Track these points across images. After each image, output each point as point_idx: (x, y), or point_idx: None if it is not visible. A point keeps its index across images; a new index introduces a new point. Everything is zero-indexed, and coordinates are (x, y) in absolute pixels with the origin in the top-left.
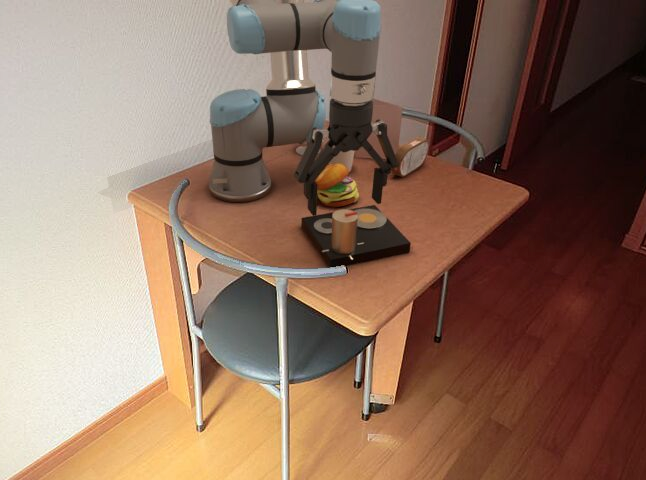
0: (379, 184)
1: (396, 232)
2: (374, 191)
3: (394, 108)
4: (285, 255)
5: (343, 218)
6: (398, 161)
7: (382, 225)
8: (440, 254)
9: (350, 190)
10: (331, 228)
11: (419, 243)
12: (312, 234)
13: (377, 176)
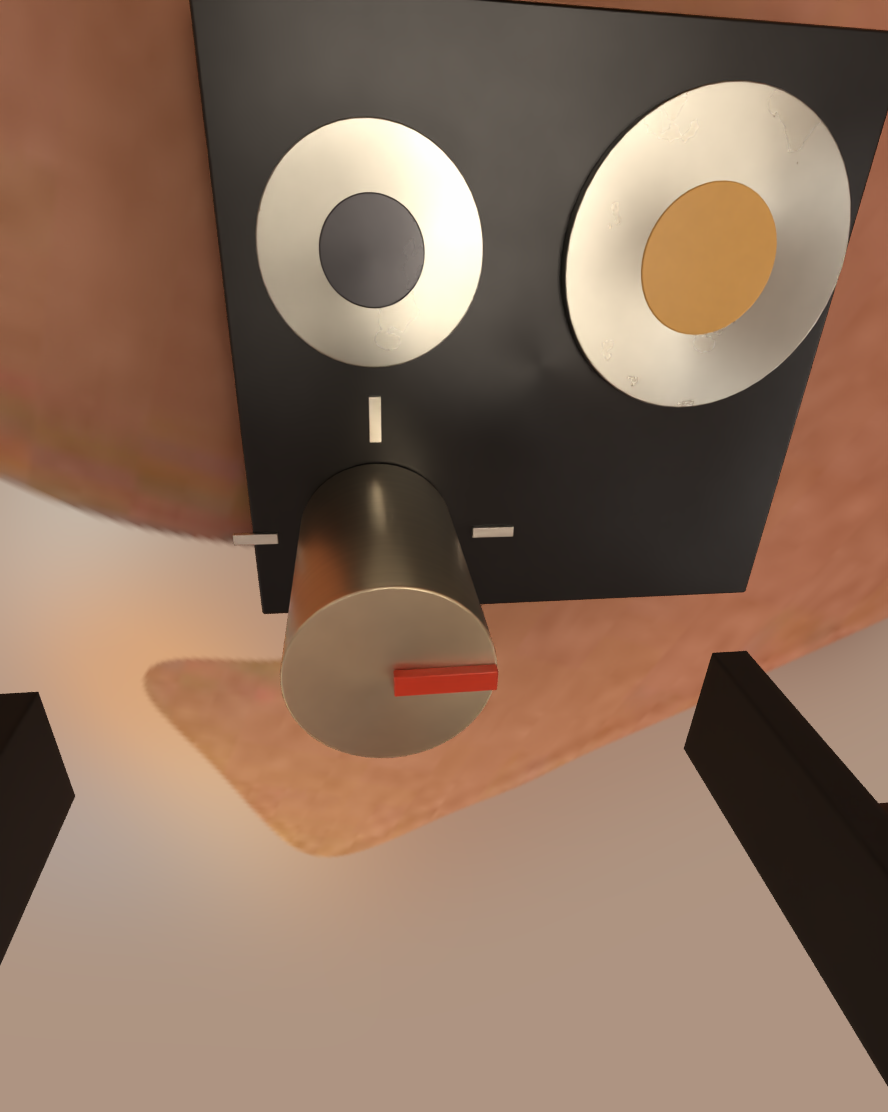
0: (800, 936)
1: (754, 480)
2: (749, 754)
3: None
4: (19, 369)
5: (360, 710)
6: None
7: (732, 394)
8: (822, 608)
9: None
10: (385, 308)
11: (815, 503)
12: (226, 303)
13: (871, 974)
